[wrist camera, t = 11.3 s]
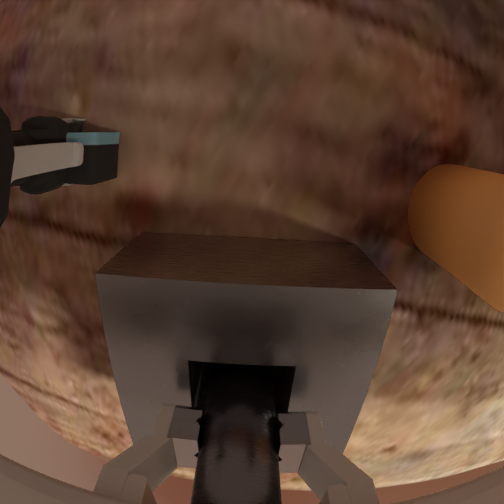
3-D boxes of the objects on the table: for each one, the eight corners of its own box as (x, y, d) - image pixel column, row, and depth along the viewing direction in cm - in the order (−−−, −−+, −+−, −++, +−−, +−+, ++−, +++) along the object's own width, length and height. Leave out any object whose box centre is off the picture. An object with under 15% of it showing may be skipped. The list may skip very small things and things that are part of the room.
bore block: (355, 244, 15) (397, 289, 10) (322, 401, 18) (336, 466, 13) (141, 232, 15) (94, 273, 10) (157, 393, 18) (137, 455, 13)
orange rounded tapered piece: (488, 172, 13) (568, 194, 8) (472, 261, 15) (539, 309, 9) (414, 155, 13) (495, 169, 8) (399, 256, 15) (463, 314, 9)
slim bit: (275, 350, 13) (290, 532, 5) (269, 394, 14) (277, 556, 6) (211, 347, 13) (180, 526, 5) (212, 392, 14) (189, 552, 6)
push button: (19, 200, 14) (-125, 265, 4) (23, 102, 12) (-132, 105, 3) (124, 208, 14) (-31, 308, 5) (133, 93, 12) (-36, 46, 3)
